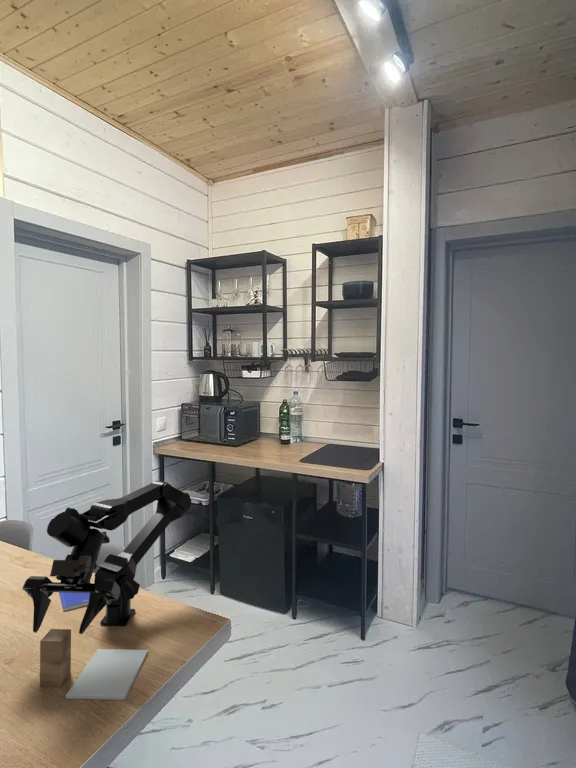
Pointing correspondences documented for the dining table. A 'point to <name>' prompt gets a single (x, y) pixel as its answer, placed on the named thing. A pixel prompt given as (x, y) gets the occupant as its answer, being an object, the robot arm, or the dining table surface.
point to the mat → (108, 675)
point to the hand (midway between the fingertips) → (57, 632)
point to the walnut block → (55, 657)
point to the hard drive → (73, 600)
